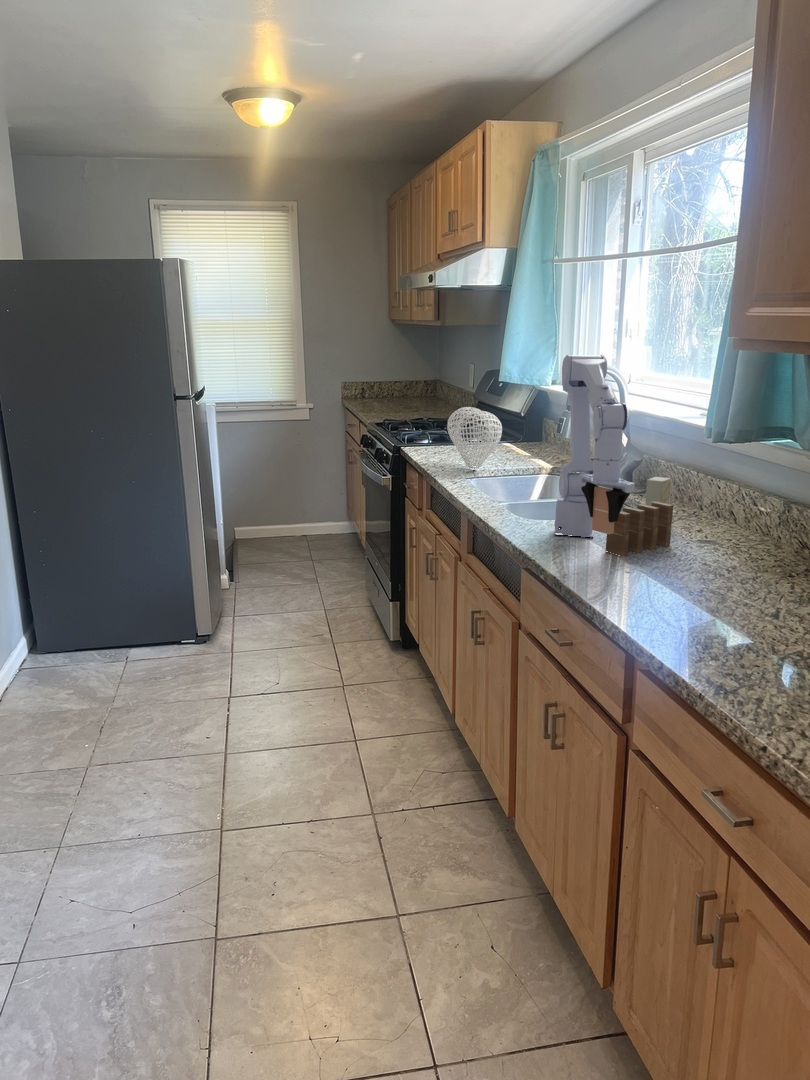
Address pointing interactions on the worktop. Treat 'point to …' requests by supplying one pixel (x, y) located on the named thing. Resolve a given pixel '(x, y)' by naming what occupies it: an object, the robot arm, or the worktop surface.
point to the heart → (458, 438)
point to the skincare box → (657, 490)
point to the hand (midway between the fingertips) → (603, 519)
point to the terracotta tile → (601, 511)
